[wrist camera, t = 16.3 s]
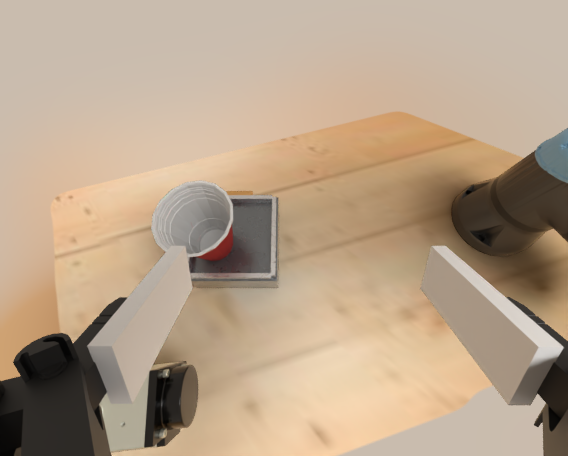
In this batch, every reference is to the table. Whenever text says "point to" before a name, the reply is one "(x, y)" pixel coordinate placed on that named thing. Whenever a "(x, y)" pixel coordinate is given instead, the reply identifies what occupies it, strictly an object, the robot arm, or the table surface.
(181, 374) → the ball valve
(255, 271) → the square tray with tab
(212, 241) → the plastic cup
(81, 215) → the table surface
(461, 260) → the robot arm
